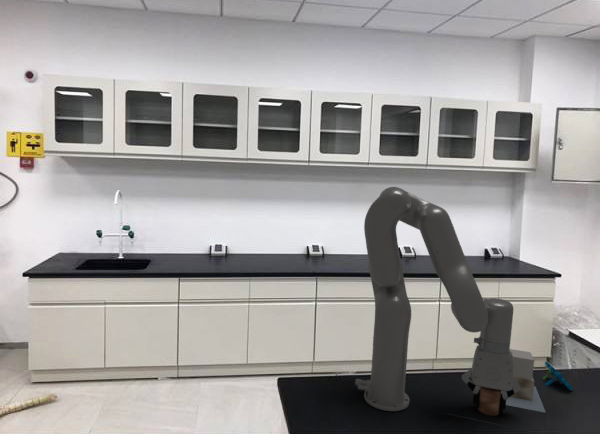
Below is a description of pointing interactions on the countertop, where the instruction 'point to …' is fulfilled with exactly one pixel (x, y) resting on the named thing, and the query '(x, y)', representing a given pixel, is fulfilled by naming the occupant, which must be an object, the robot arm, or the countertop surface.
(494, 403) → the cylinder
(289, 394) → the countertop surface
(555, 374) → the blue angular piece
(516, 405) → the mat
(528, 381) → the lower block
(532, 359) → the upper block
